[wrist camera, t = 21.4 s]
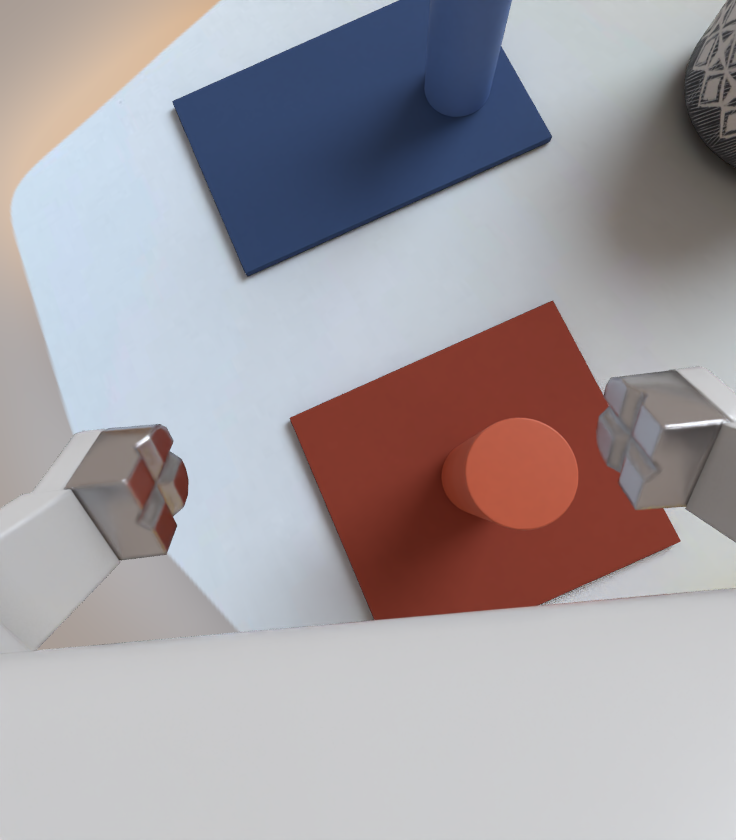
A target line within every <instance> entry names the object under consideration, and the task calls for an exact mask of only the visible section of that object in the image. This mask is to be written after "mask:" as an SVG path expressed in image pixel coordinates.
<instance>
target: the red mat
mask: <svg viewBox="0 0 736 840" xmlns="http://www.w3.org/2000/svg"><path fill="white" fill-rule="evenodd" d="M608 407H609V405H608V403H607V402H606V400H605V399H604V397H603V394H602V392H601V390H600V388H599V386H598V384H597V383H596V381H595V379H594V377H593V375H592V373H591V371H590V369H589V368H588V366H587V364H586V362H585V360H584V358H583V356H582V354H581V352H580V351H579V349H578V347H577V345H576V343H575V341H574V339H573V337H572V336H571V334H570V332H569V330H568V328H567V326H566V324H565V322H564V320H563V319H562V317H561V315H560V313H559V311H558V309H557V307H556V305H555V303H554V302H553V301H551V302H548V303H546V304H544V305H542V306H539V307H537V308H535V309H533V310H530V311H528V312H526V313H524V314H521V315H519V316H517V317H515V318H512V319H510V320H508V321H506V322H503V323H501V324H499V325H497V326H495V327H492V328H490V329H488V330H486V331H483V332H481V333H479V334H477V335H474V336H472V337H470V338H468V339H465V340H463V341H461V342H459V343H456V344H454V345H452V346H450V347H447V348H445V349H443V350H441V351H438V352H436V353H434V354H432V355H430V356H427V357H425V358H423V359H421V360H418V361H416V362H414V363H412V364H409V365H407V366H405V367H403V368H400V369H398V370H396V371H394V372H391V373H389V374H387V375H385V376H382V377H380V378H378V379H376V380H374V381H371V382H369V383H367V384H365V385H362V386H360V387H358V388H356V389H353V390H351V391H349V392H347V393H344V394H342V395H340V396H338V397H335V398H333V399H331V400H329V401H326V402H324V403H322V404H320V405H318V406H315V407H313V408H311V409H309V410H306V411H304V412H302V413H300V414H297V415H295V416H293V417H291V418H290V420H291V423H292V425H293V427H294V430H295V432H296V434H297V437H298V439H299V442H300V444H301V446H302V449H303V451H304V453H305V456H306V458H307V461H308V463H309V465H310V468H311V470H312V473H313V475H314V477H315V480H316V482H317V484H318V487H319V489H320V492H321V494H322V496H323V499H324V501H325V503H326V506H327V508H328V511H329V513H330V515H331V518H332V520H333V522H334V525H335V527H336V530H337V532H338V534H339V537H340V539H341V542H342V544H343V546H344V549H345V551H346V553H347V556H348V558H349V561H350V563H351V565H352V568H353V570H354V572H355V575H356V577H357V580H358V582H359V584H360V587H361V589H362V591H363V594H364V596H365V599H366V601H367V603H368V606H369V608H370V611H371V613H372V615H373V618H374V620H383V619H394V618H405V617H417V616H428V615H439V614H450V613H462V612H473V611H484V610H495V609H507V608H518V607H529V606H538V605H540V604H542V603H544V602H546V601H549V600H551V599H553V598H555V597H558V596H560V595H562V594H564V593H567V592H569V591H571V590H573V589H576V588H578V587H580V586H582V585H585V584H587V583H589V582H591V581H593V580H596V579H598V578H600V577H602V576H605V575H607V574H609V573H611V572H614V571H616V570H618V569H620V568H623V567H625V566H627V565H629V564H631V563H634V562H636V561H638V560H640V559H643V558H645V557H647V556H649V555H652V554H654V553H656V552H658V551H661V550H663V549H665V548H667V547H669V546H672V545H674V544H676V543H678V542H680V539H679V537H678V535H677V533H676V531H675V529H674V528H673V526H672V524H671V522H670V520H669V518H668V516H667V514H666V513H665V511H664V509H663V508H658V509H644V510H635V509H634V507H633V506H632V504H631V503H630V501H629V500H628V498H627V497H626V495H625V493H624V492H623V490H622V489H621V487H620V486H619V484H618V479H619V476H620V472H618V471H616V470H614V469H612V468H610V467H609V466H607V465H606V464H605V462H604V460H603V459H602V457H601V455H600V453H599V450H598V447H597V441H596V427H597V422H598V417H599V416H600V415H601V414H602V413H603V412H604V411H605V410H606V409H607V408H608ZM510 418H528V419H533V420H537V421H540V422H542V423H544V424H546V425H548V426H550V427H552V428H553V429H554V430H556V431H557V432H558V433H559V434H560V435H561V436H562V437H563V438H564V439H565V440H566V442H567V443H568V444H569V446H570V448H571V449H572V451H573V453H574V456H575V459H576V462H577V467H578V487H577V490H576V494H575V496H574V499H573V501H572V503H571V504H570V506H569V508H568V509H567V510H566V511H565V513H564V514H563V515H561V516H560V517H559V518H558V519H557V520H555V521H554V522H552V523H550V524H549V525H547V526H544V527H541V528H538V529H533V530H515V529H510V528H506V527H503V526H501V525H498V524H495V523H493V522H490V521H488V520H485V519H483V518H480V517H478V516H475V515H472V514H470V513H467V512H465V511H463V510H461V509H459V508H458V507H456V506H455V505H454V504H453V503H452V502H451V501H450V500H449V498H448V497H447V495H446V493H445V491H444V489H443V485H442V479H441V474H442V468H443V464H444V462H445V460H446V458H447V456H448V455H449V454H450V452H451V451H452V450H453V449H455V448H456V447H457V446H459V445H460V444H462V443H464V442H465V441H467V440H468V439H470V438H471V437H473V436H475V435H476V434H478V433H479V432H481V431H483V430H484V429H486V428H487V427H489V426H491V425H493V424H494V423H496V422H499V421H502V420H505V419H510Z"/></svg>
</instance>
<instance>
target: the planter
mask: <svg viewBox="0 0 736 840" xmlns="http://www.w3.org/2000/svg"><path fill="white" fill-rule="evenodd" d="M685 100H686V105H687V110H688V113H689V116H690V118H691V121H692V123H693V125H694V127H695V129H696V131H697V132H698V134H699V135H700V137H701V138H702V140H703V141H704V142H705V143H706V144H707V146H708V147H709V148H710V149H711V150H712V151H713V152H714V153H716V154H717V155H718V156H719V157H720V158H722V159H723V160H724V161H726V162H727V163H729V164H730V165H732V166H733V167H735V168H736V0H727V1H726V3H725V4H724V6H723V7H722V9H721V10H720V12H719V13H718V14H717V16H716V17H715V19H714V20H713V22H712V23H711V25H710V26H709V28H708V29H707V31H706V32H705V33H704V35H703V36H702V38H701V39H700V41H699V42H698V44H697V46H696V47H695V49H694V51H693V53H692V55H691V58H690V61H689V63H688V67H687V71H686V76H685Z"/></svg>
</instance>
